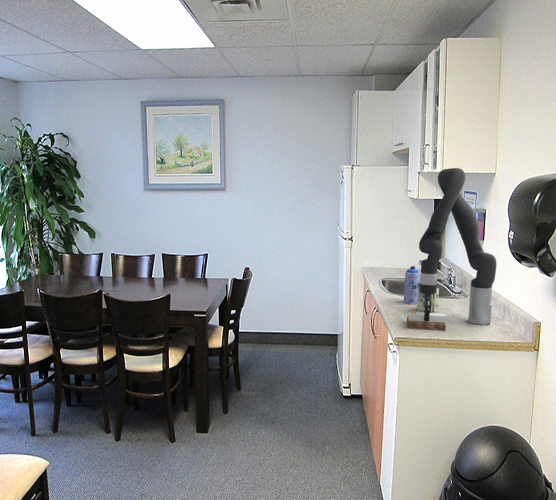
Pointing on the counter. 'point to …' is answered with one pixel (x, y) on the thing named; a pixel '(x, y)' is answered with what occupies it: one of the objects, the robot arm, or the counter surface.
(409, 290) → the aerosol can
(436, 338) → the counter surface
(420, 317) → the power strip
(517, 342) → the counter surface
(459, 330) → the counter surface
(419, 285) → the robot arm
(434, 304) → the coffee can
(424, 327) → the mounting board
